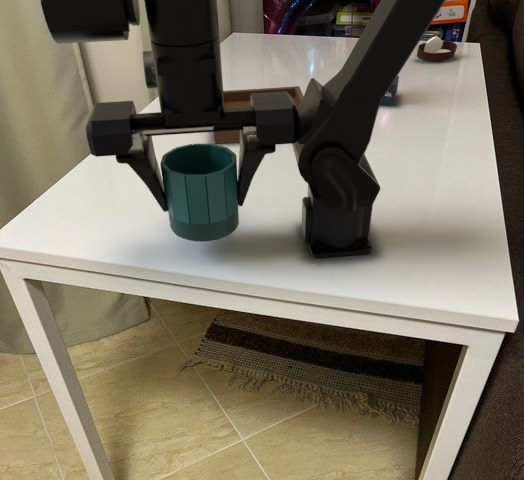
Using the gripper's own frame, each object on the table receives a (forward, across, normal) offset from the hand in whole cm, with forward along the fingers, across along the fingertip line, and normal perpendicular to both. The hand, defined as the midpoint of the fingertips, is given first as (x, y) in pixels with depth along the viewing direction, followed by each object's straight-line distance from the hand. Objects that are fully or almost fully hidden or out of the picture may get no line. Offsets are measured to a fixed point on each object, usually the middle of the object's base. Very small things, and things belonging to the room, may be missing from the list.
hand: (203, 206), depth 56 cm
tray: (+5, -9, -35) cm, 36 cm away
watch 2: (+5, -45, -59) cm, 74 cm away
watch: (+5, -29, -40) cm, 49 cm away
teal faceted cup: (-1, +1, -4) cm, 4 cm away
